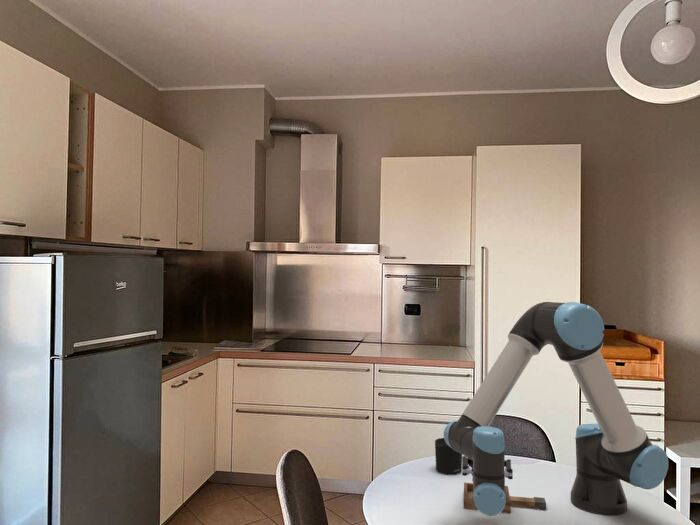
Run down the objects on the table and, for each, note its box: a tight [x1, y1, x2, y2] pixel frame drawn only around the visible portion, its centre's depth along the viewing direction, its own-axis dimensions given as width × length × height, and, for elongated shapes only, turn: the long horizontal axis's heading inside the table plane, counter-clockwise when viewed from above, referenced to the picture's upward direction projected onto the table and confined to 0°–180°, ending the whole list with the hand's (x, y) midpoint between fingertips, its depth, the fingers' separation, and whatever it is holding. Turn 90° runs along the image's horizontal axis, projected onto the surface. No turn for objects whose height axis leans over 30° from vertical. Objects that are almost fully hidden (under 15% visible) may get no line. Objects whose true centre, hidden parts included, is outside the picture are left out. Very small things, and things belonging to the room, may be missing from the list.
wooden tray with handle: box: [463, 481, 547, 514], centre depth 158 cm, size 23×13×3 cm, turn 77°
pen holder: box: [434, 437, 463, 475], centre depth 187 cm, size 9×9×10 cm
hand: (485, 454), depth 165 cm, fingers closed on squeeze bottle, 6 cm apart
